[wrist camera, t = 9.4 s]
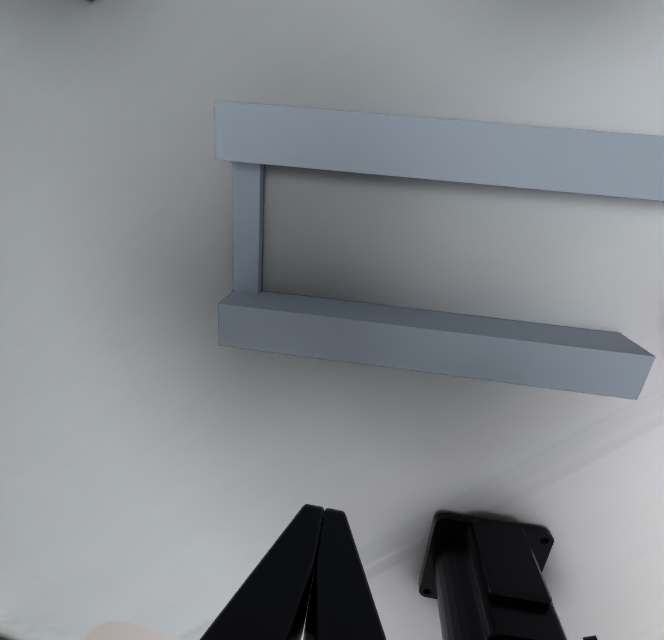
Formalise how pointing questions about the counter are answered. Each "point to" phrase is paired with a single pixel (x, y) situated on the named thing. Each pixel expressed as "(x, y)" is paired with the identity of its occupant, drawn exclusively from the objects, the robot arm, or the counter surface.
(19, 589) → the counter surface
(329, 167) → the grey piece
